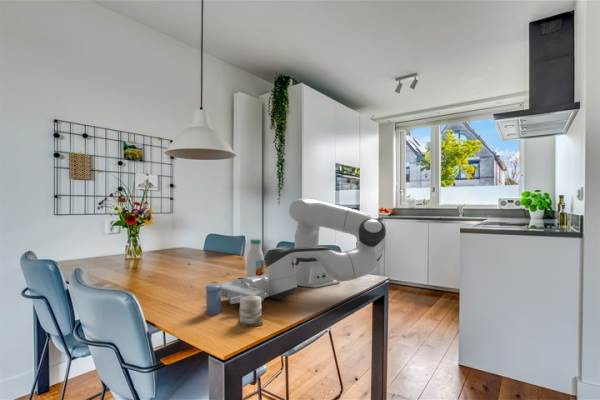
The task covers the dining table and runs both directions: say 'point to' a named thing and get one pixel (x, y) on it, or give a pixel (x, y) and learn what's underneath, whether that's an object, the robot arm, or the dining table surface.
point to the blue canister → (213, 299)
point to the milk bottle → (255, 259)
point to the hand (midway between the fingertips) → (221, 298)
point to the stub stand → (250, 311)
